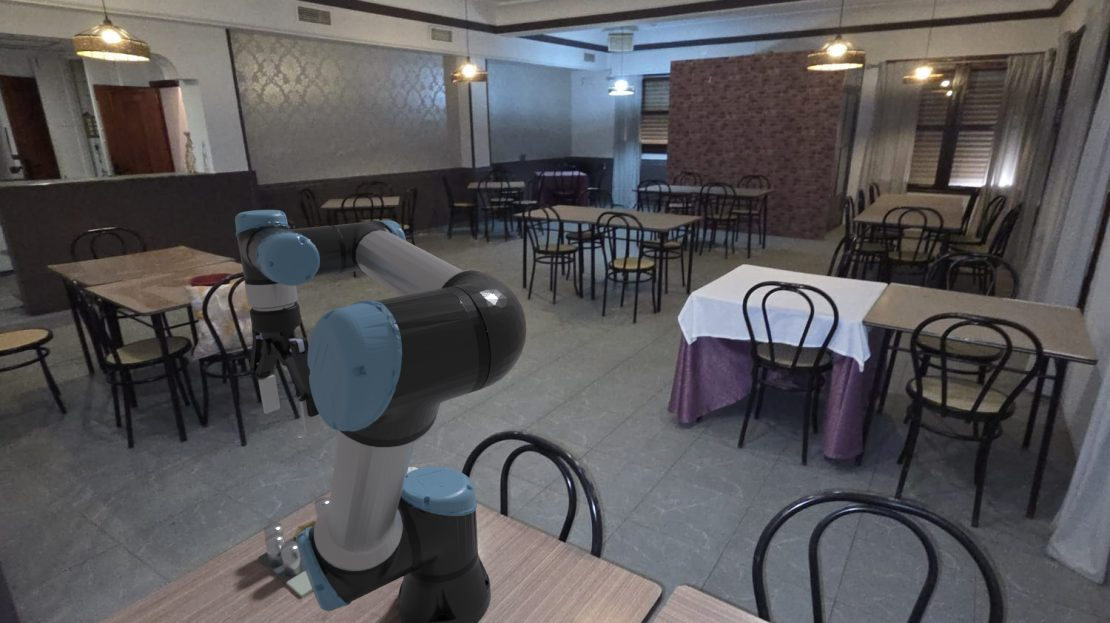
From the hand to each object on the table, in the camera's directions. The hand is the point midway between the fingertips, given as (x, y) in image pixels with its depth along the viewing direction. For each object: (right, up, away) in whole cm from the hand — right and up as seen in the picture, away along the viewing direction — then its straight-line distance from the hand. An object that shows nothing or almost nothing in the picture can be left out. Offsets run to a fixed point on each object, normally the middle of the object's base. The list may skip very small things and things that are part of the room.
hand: (292, 421), depth 103 cm
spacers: (0, -25, +7) cm, 26 cm away
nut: (0, -25, +8) cm, 26 cm away
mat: (+3, -26, +6) cm, 27 cm away
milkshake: (+17, -22, +19) cm, 34 cm away
